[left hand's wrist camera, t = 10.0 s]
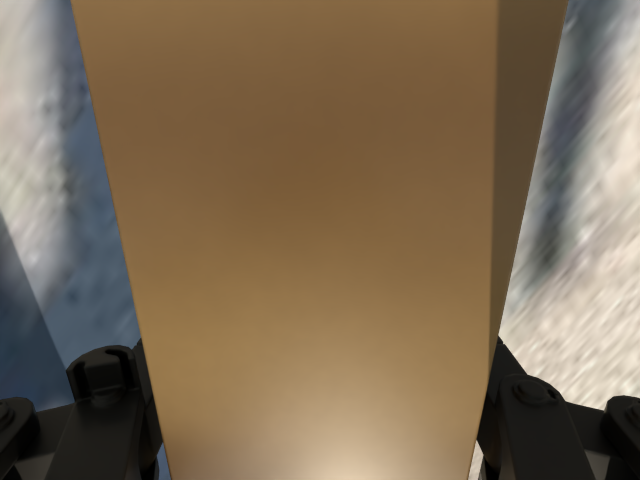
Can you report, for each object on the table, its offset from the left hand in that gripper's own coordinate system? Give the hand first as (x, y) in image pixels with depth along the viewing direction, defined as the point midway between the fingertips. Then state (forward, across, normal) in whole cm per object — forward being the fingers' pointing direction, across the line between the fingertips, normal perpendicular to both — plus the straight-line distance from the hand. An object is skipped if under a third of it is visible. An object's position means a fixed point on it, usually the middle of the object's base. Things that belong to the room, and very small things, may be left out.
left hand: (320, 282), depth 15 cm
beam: (0, 0, -20) cm, 20 cm away
